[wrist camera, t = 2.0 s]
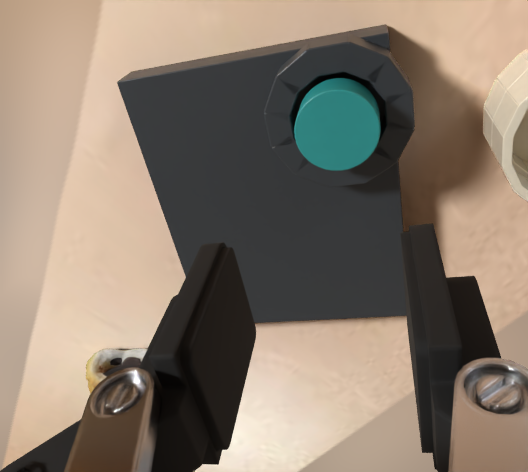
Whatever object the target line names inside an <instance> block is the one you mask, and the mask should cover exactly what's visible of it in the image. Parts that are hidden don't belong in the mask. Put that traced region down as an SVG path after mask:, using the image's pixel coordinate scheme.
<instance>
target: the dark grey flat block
mask: <svg viewBox="0 0 528 472" xmlns="http://www.w3.org/2000/svg"><path fill="white" fill-rule="evenodd" d="M334 78H346V79H351V80H354V81H356V82H358V83H360V84H362V85H363V86H365V87H366V88H367V89H368V90H369V91H370V92H371V93H372V95H373V96H374V98H375V100H376V102H377V105H378V109H379V116H380V127H381V132H380V138H379V142H378V144H377V147H376V148H375V150H374V152H373V153H372V154H371V156H370V157H369V158H368V159H367V160H365V161H364V162H363V163H361V164H360V165H358V166H356V167H354V168H351V169H348V170H342V171H331V170H326V169H323V168H320V167H318V166H316V165H314V164H312V163H311V162H310V161H308V160H307V159H306V158H305V157H304V156H303V154H302V153H301V152H300V150H299V148H298V146H297V144H296V140H295V134H294V127H295V121H296V118H297V115H298V111H299V108H300V105H301V102H302V100H303V98H304V97H305V95H306V94H307V93H308V92H309V91H310V90H311V89H312V88H313V87H314V86H316V85H317V84H319V83H321V82H323V81H326V80H329V79H334ZM117 83H118V86H119V89H120V92H121V95H122V98H123V100H124V103H125V106H126V109H127V112H128V115H129V117H130V120H131V123H132V126H133V129H134V132H135V134H136V137H137V140H138V143H139V146H140V148H141V151H142V154H143V157H144V160H145V163H146V165H147V168H148V171H149V174H150V177H151V180H152V182H153V185H154V188H155V191H156V194H157V196H158V199H159V202H160V205H161V208H162V211H163V213H164V216H165V219H166V222H167V225H168V228H169V230H170V233H171V236H172V239H173V242H174V244H175V247H176V250H177V253H178V256H179V259H180V261H181V264H182V267H183V270H184V273H185V276H186V277H187V275H188V272H189V270H190V268H191V266H192V264H193V262H194V260H195V258H196V255H197V253H198V251H199V249H200V247H201V246H202V245H203V244H211V243H222V242H223V243H225V245H226V246H227V248H228V247H232V248H233V250H234V252H235V256H236V259H237V263H238V266H239V270H240V273H241V277H242V280H243V284H244V288H245V291H246V295H247V298H248V302H249V305H250V309H251V312H252V316H253V319H254V323H264V322H285V321H306V320H326V319H347V318H368V317H389V316H407V314H406V301H405V288H404V275H403V263H402V250H401V237H400V232H403V219H402V206H401V192H400V179H399V165H398V160H399V158H400V156H401V154H402V152H403V150H404V148H405V146H406V145H407V143H408V141H409V139H410V137H411V135H412V133H413V131H414V127H415V122H414V103H413V90H412V87H411V83H410V80H409V78H408V76H407V75H406V74H405V72H404V71H403V70H402V68H401V67H400V65H399V64H398V63H397V61H396V60H395V58H394V57H393V56H392V54H391V53H390V42H389V32H388V28H387V25H381V26H375V27H370V28H365V29H359V30H354V31H348V32H343V33H338V34H332V35H327V36H321V37H316V38H311V39H305V40H300V41H294V42H289V43H284V44H278V45H273V46H268V47H262V48H257V49H251V50H246V51H241V52H235V53H230V54H224V55H219V56H214V57H208V58H203V59H197V60H192V61H187V62H181V63H176V64H171V65H165V66H160V67H154V68H149V69H144V70H138V71H133V72H131V73H129V74H128V75H126V76H125V77H124V78H122V79H121V80H119V81H118V82H117Z"/></svg>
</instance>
